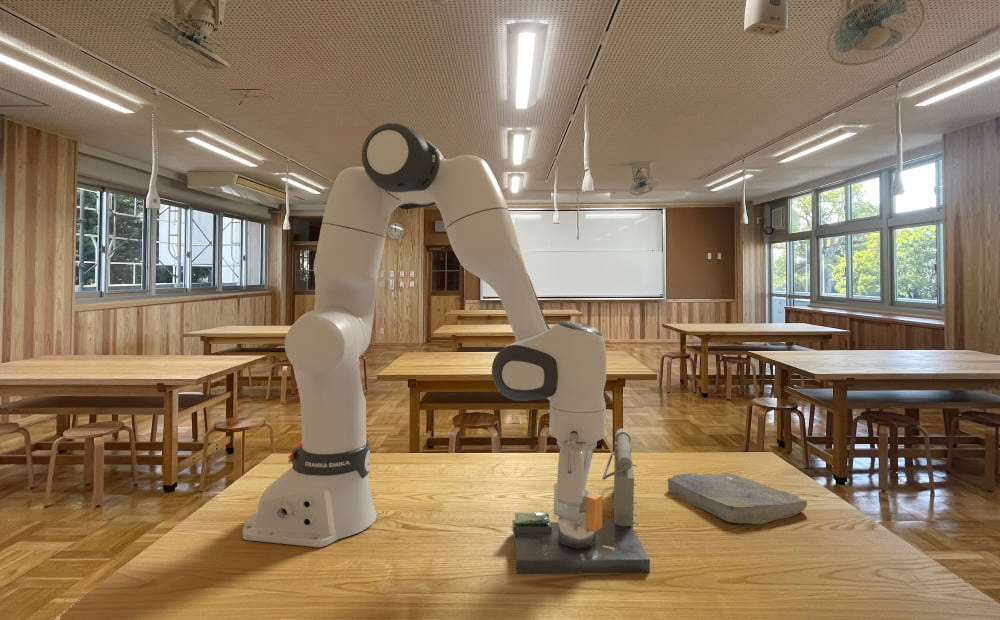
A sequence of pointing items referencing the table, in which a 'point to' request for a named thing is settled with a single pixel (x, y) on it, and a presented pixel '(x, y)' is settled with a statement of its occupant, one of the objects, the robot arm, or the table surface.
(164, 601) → the table surface
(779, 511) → the grey stone slab
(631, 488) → the geiger counter
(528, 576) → the table surface
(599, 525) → the knob
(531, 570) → the stand
